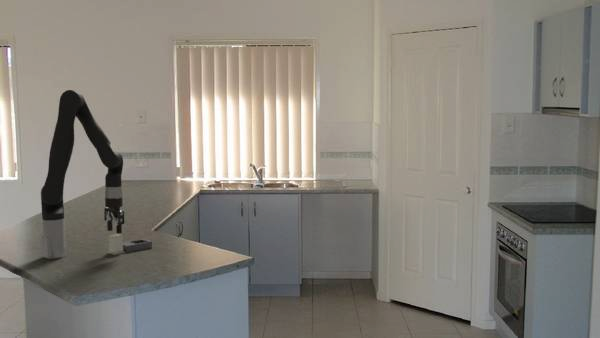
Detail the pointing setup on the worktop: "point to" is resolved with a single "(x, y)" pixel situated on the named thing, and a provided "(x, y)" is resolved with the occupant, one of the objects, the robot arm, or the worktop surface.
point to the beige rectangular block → (115, 243)
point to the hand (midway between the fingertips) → (114, 232)
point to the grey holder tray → (136, 245)
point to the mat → (117, 253)
